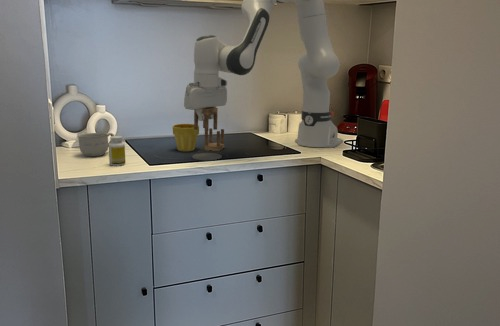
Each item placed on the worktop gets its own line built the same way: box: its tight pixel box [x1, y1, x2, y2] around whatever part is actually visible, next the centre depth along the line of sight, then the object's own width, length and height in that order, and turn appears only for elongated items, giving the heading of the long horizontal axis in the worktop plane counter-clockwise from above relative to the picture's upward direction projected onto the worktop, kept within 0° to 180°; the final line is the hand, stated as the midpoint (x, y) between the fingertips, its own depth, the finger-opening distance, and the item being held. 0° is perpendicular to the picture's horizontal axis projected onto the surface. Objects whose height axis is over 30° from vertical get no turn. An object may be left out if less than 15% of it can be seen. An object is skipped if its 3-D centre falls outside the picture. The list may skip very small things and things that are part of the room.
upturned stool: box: [204, 127, 225, 152], centre depth 201 cm, size 6×6×8 cm
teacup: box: [77, 132, 115, 157], centre depth 189 cm, size 14×11×8 cm
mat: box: [191, 152, 223, 162], centre depth 187 cm, size 11×11×1 cm
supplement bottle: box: [108, 135, 126, 167], centre depth 174 cm, size 5×5×10 cm
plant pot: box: [172, 123, 200, 152], centre depth 199 cm, size 10×10×10 cm
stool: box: [193, 107, 219, 132], centre depth 184 cm, size 6×6×8 cm
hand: (205, 119), depth 184 cm, fingers closed on stool, 4 cm apart
